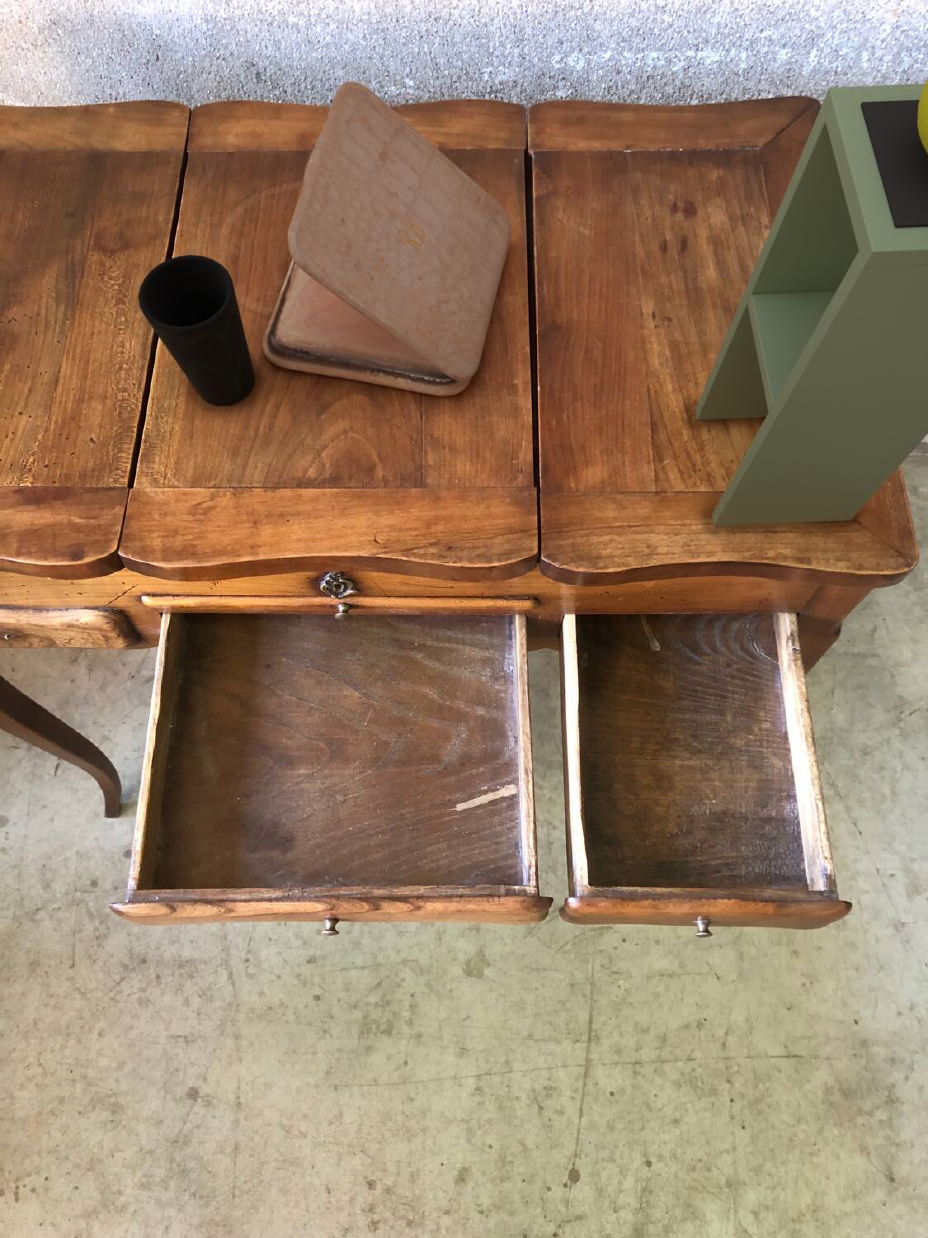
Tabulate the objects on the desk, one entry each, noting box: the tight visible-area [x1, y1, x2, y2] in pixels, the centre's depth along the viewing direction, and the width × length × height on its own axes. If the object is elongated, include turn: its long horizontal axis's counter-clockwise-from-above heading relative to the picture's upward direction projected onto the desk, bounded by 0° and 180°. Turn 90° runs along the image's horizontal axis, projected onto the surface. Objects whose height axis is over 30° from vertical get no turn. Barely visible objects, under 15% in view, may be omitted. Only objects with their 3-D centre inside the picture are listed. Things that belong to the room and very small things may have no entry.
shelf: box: [694, 83, 928, 527], centre depth 62 cm, size 12×12×32 cm
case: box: [261, 81, 512, 397], centre depth 77 cm, size 20×21×16 cm
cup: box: [137, 254, 256, 407], centre depth 75 cm, size 8×8×12 cm
